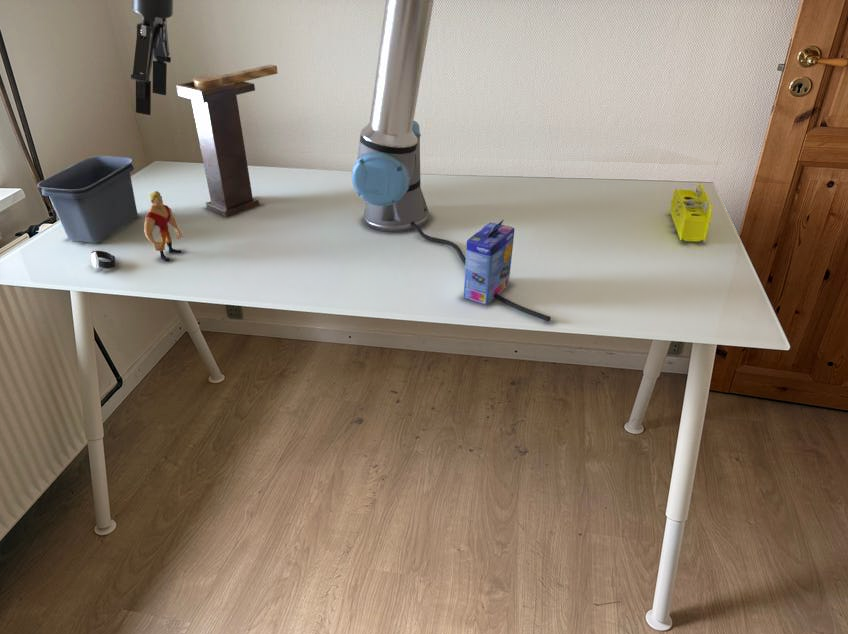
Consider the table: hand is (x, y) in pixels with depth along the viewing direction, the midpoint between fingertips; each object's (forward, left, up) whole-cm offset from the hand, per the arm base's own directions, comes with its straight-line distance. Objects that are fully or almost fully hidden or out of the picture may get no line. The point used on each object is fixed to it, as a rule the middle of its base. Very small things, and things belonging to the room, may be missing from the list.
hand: (151, 103), depth 142 cm
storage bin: (+18, +14, -30) cm, 38 cm away
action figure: (-8, +6, -30) cm, 32 cm away
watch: (-3, +19, -30) cm, 36 cm away
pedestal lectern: (+10, -18, -30) cm, 37 cm away
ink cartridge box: (-64, -37, -30) cm, 80 cm away
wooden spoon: (+11, -24, -1) cm, 27 cm away
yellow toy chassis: (-70, -90, -30) cm, 118 cm away
